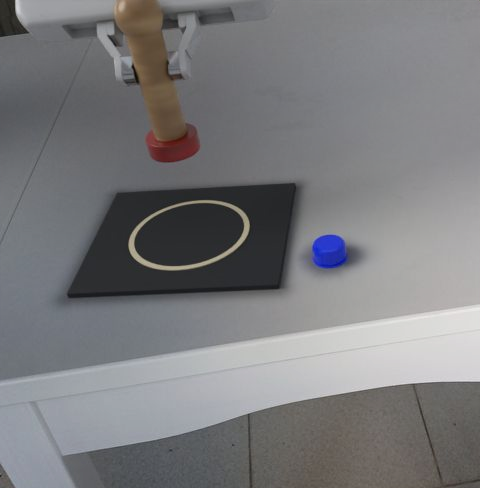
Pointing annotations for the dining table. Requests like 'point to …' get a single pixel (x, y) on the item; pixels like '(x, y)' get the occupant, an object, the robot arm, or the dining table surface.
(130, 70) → the robot arm
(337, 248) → the bottle cap
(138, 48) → the stamp
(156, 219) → the mat
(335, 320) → the dining table surface
